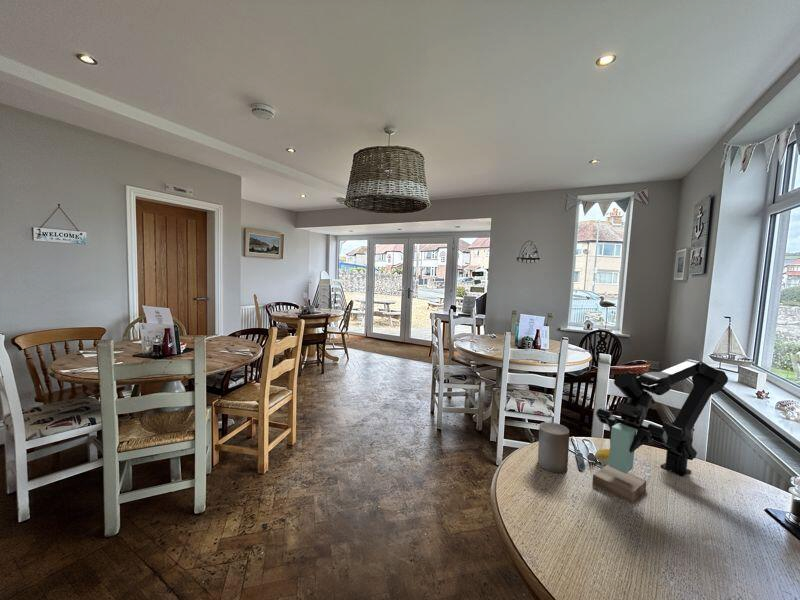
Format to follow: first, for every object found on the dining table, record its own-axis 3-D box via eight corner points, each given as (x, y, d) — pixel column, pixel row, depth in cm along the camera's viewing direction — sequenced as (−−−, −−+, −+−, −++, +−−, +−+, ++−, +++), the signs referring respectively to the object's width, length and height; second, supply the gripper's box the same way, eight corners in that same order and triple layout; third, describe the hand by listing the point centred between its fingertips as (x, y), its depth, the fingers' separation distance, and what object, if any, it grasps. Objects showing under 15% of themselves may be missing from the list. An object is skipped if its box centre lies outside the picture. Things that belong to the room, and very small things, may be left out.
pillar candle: (570, 465, 117) (573, 424, 116) (562, 477, 110) (565, 433, 109) (542, 455, 124) (544, 416, 123) (533, 466, 116) (535, 424, 115)
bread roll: (623, 461, 121) (624, 450, 121) (618, 471, 115) (619, 460, 115) (597, 452, 127) (598, 442, 127) (591, 461, 120) (592, 451, 120)
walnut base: (607, 472, 113) (608, 464, 113) (645, 489, 105) (646, 480, 104) (592, 483, 107) (593, 474, 107) (631, 502, 98) (632, 493, 98)
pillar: (615, 460, 109) (618, 422, 108) (632, 468, 105) (636, 429, 104) (608, 465, 106) (611, 426, 105) (625, 473, 102) (629, 433, 101)
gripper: (600, 384, 113) (582, 423, 108) (667, 402, 98) (650, 448, 93) (608, 402, 119) (592, 440, 113) (674, 421, 103) (658, 466, 98)
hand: (620, 448), depth 104 cm, fingers closed on pillar, 5 cm apart
